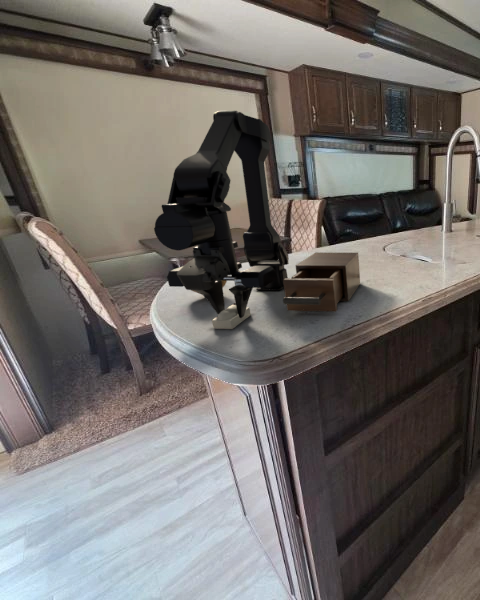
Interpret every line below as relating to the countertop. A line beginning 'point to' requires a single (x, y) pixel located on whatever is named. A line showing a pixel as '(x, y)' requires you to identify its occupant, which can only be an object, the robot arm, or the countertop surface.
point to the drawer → (314, 290)
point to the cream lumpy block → (229, 318)
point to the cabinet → (336, 261)
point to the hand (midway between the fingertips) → (232, 316)
